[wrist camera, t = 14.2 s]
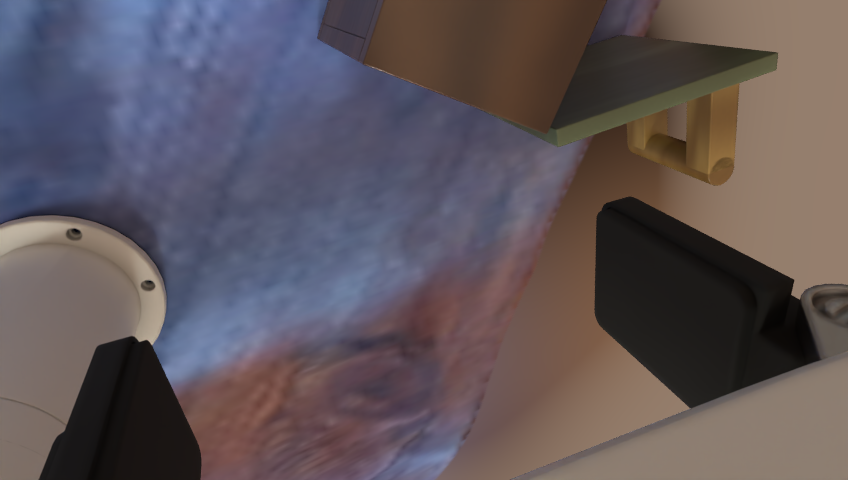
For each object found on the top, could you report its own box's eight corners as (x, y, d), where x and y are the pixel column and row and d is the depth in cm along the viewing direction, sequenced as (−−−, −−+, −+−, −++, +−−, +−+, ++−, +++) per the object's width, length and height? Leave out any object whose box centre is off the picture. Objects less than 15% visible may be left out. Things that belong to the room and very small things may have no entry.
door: (625, 131, 45) (766, 182, 33) (476, 185, 42) (570, 260, 31) (621, 34, 41) (778, 52, 29) (457, 87, 39) (556, 129, 27)
